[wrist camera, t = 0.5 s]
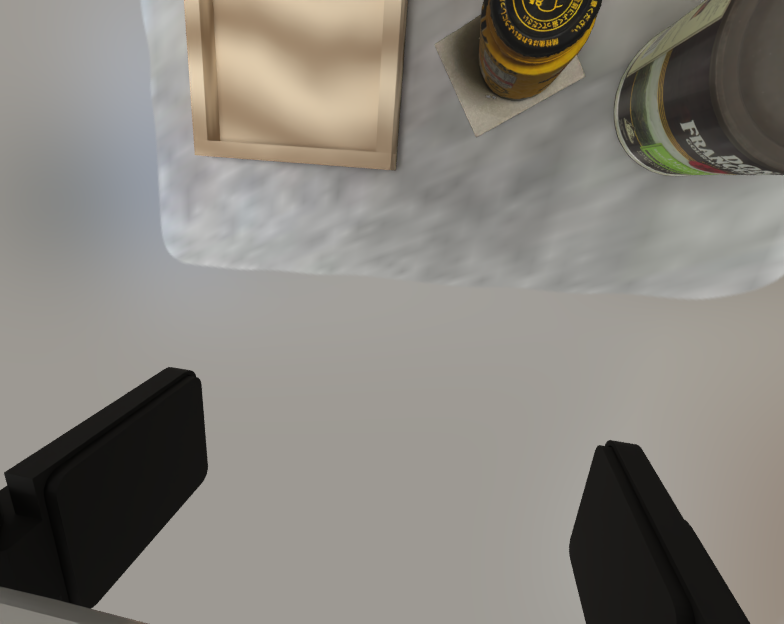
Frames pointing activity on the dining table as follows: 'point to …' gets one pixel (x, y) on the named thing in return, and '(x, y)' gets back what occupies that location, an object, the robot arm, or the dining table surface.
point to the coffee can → (708, 93)
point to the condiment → (516, 56)
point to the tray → (297, 79)
